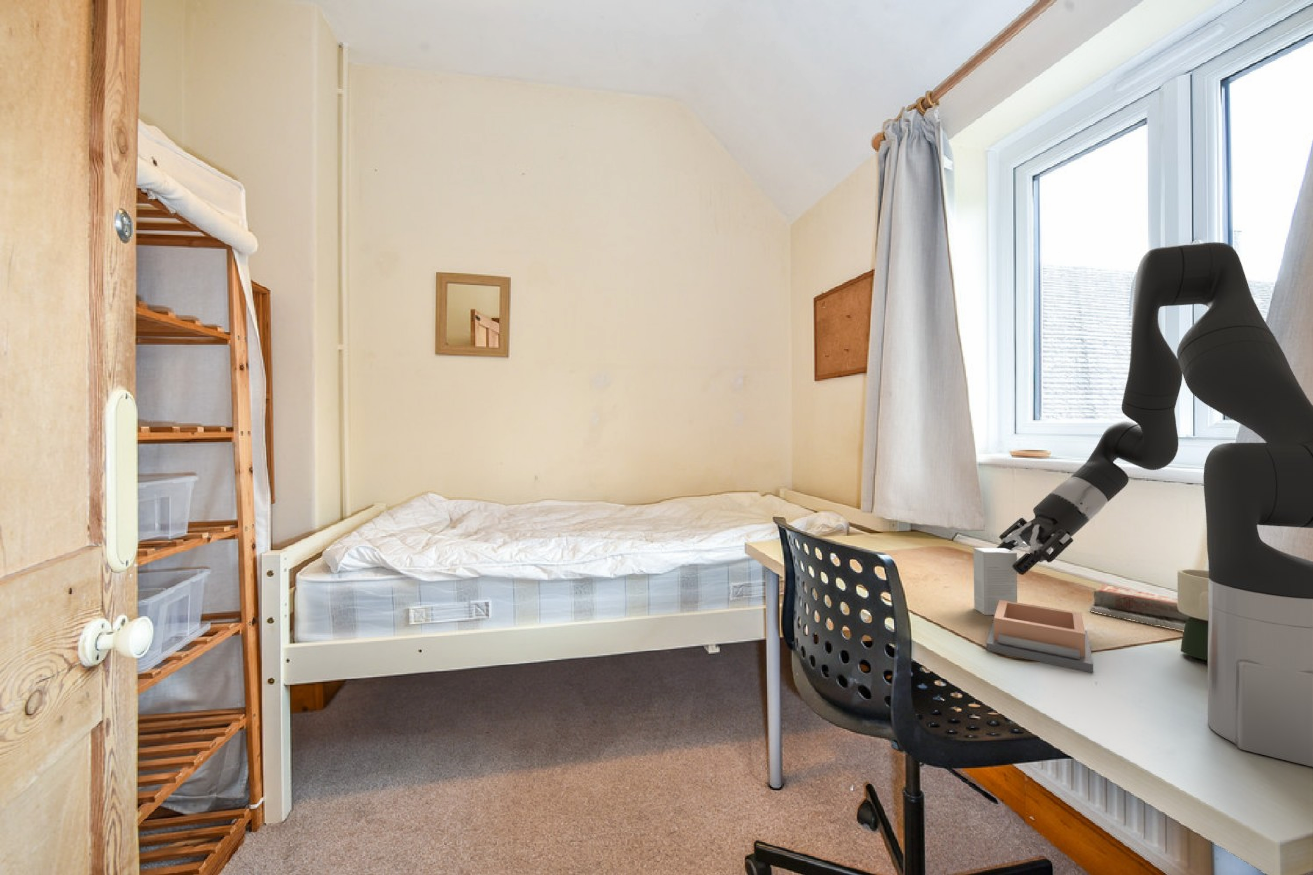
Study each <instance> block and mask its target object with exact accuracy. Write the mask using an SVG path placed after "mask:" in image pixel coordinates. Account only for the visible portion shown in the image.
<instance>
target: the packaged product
mask: <svg viewBox="0 0 1313 875" xmlns="http://www.w3.org/2000/svg"><path fill="white" fill-rule="evenodd" d="M1093 599H1094V600H1093V604H1092V605H1090V608H1089V612H1090V611H1094V612H1098V613H1102V614H1106V615H1111V616H1115V617H1119V618H1118V619H1120V618H1126V619H1131V620H1135V621H1138V622H1143V623H1148V624H1152V625H1160V626H1165V627H1170V628H1175V629H1180V630H1184V627H1185V622H1186V621H1187V620H1188V618H1189V617H1191V616H1188V615H1186V614H1183V613H1181V612H1179V610H1178V606H1177V598H1174V597H1169V596H1164V595H1159V594H1153V593H1148V592H1144V591H1143V592H1142V591H1138V590H1133V589H1126V588H1122V587H1116V586H1111V585H1110V586H1109V585H1105V584H1104V585H1102V586H1101V587H1098V588H1096V589H1095V590H1094V591H1093ZM1106 615H1105V616H1106ZM1111 616H1110V617H1111ZM1115 617H1114V618H1115ZM1138 622H1137V623H1138ZM1143 623H1142V624H1143ZM1152 625H1151V626H1152Z"/></svg>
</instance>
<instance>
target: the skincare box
mask: <svg viewBox="0 0 1313 875" xmlns="http://www.w3.org/2000/svg"><path fill="white" fill-rule="evenodd" d="M972 553H973V600H974V601H973V605H974V606H973V607H974V610H976V611H978V612H979V613H981V614H983V615H985V616H995V613H996V610H997V606H998V603H999V600H1004V601H1010V602H1017V603H1018V573H1017V572H1016V571H1015V570H1014V569H1013V567H1012V565H1013V564H1014V563H1015V562H1016V561H1018V559H1017V558H1018V553H1017V552H1015V551H1014V550H1012V551H1011V550H1008V549H1005V548H997V547H973V551H972Z"/></svg>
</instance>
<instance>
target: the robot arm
mask: <svg viewBox="0 0 1313 875" xmlns="http://www.w3.org/2000/svg"><path fill="white" fill-rule="evenodd" d="M1138 264H1139V265H1138V266H1137V269H1136V270H1137V271H1136V274H1135V277H1134V278H1135V279H1134V284H1133V285H1134V286H1133V295H1132V296H1133V299H1132V315H1131V330H1130V331H1131V332H1130V356H1129V357H1130V358H1129V368H1128V375H1127V379H1126V383H1125V388H1124V393H1123V397H1122V403H1121V411H1122V413H1123V414H1124V415H1125V416H1126V417H1127V418H1128V419H1130V420H1131V421H1129V420H1123V421H1119V422H1116V423H1113V424H1112V425H1110V426H1109V427H1108V428H1107V429H1106V430H1105V431H1104V432H1103V434H1102V435H1101V437H1100V439H1099V442H1098V443H1097V445H1096V447H1095V448H1094V449H1093V451H1092V453H1091V454H1090V456H1089V457H1088V459H1087V460H1086V462H1085V463H1083V465H1082V466H1081V467H1079V469H1077V470H1076V471H1075V472H1074V473H1073V474H1072V475H1071V476H1069V478H1067V479H1066V480H1065V481H1063V482H1061V483H1060V484H1058V485H1057V486H1056V487H1055V488H1054V489H1053V490H1051V492H1049V494H1048V495H1046V496H1045V497H1044V498H1042V500H1041V501H1040V502H1039V503H1037V504H1036V505H1035V506H1034V507H1033V509H1032V512H1033V514H1034V518H1033V519H1032V520H1030V521H1027V520H1026V519H1025V518H1024V517H1020V518H1019V519H1017V520H1016V521H1015V522H1014V523H1013V524H1011V525H1010V526H1009V527H1008V528H1007V529H1006V530H1005V531H1004V532H1002V533H1001V534H999V536H998V538H999V539H1000V540H1001V543H1000V544H999V545H998V546H997V547H996V548H1005V549H1008V550H1011V551H1015V550H1018V549H1019V548H1023V549H1025V548H1027V547H1029V550H1028V552H1025V553H1024V554H1023V555H1022V556H1021V557H1020V558H1019V559H1017V561H1016V562H1015V563H1014V564H1013V565H1012V567H1013V569H1014V570H1015V571H1016V572H1017V574H1018V575H1021V576H1024V575H1025V574H1026V573H1027V572H1028V571H1029V570H1031V569H1032V568H1033V567H1034V566H1035V565H1036V564H1038V563H1043V562H1044V561H1046V562H1047V563H1052V562H1053V561H1054V560H1055V559H1056V558H1057V557H1058V556H1060V555H1061V553H1063V551H1065V549H1067V548H1068V547H1069V546H1070V545H1071V544H1072V543H1073V542H1074V539H1073V538H1072V537H1073V536H1074V535H1075V534H1076V533H1077V532H1079V531H1080V530H1081V529H1082V528H1083V527H1084V526H1085V525H1087V524H1088V523H1089V522H1090V521H1091V520H1092V519H1093V518H1095V517H1096V516H1097V514H1099V513H1100V512H1101V511H1102V509H1103V508H1104V507H1105V506H1106V504H1108V503H1109V501H1111V500H1112V499H1113V498H1114V497H1115V496H1116V495H1118V494H1119V493H1120V492H1121V491H1122V490H1123V489H1124V488H1125V487H1126V486H1127V485H1128V483H1129V481H1130V480H1129V476H1128V474H1127V472H1126V471H1125V470H1123V468H1121V467H1120V466H1119V465H1117V463H1114V462H1115V461H1116V460H1117V459H1120V460H1122V461H1125V462H1127V463H1129V464H1132V465H1134V466H1137V467H1139V468H1142V469H1145V470H1148V471H1157V470H1161V469H1164V468H1166V467H1167V466H1168V465H1170V464H1171V463H1172V462H1173V461H1174V460H1175V459H1176V458H1175V457H1176V456H1177V454H1178V450H1179V435H1178V428H1177V419H1176V418H1177V417H1176V412H1175V410H1176V406H1177V402H1178V398H1179V394H1180V390H1181V387H1182V382H1183V379H1184V382H1185V384H1186V386H1187V388H1188V389H1189V391H1190V392H1191V393H1192V395H1194V396H1195V397H1196V398H1197V399H1198V400H1199V401H1201V402H1202V403H1203V404H1205V405H1206V406H1208V407H1210V408H1212V409H1213V410H1214V411H1216V412H1218V413H1220V414H1222V415H1224V416H1225V417H1227V418H1229V419H1231V420H1233V421H1235V422H1237V423H1238V424H1240V425H1242V426H1244V427H1246V428H1247V429H1249V430H1250V431H1252V432H1254V433H1255V434H1256V435H1258V436H1259V437H1260V438H1261V439H1263V441H1264V442H1227V443H1226V442H1225V443H1220V444H1217V445H1216V446H1214V447H1212V449H1211V450H1210V451H1209V452H1208V455H1207V457H1206V460H1205V463H1204V465H1203V466H1204V467H1203V493H1204V495H1203V496H1204V507H1205V520H1206V522H1205V523H1206V549H1207V550H1206V551H1207V562H1208V571H1209V603H1208V663H1207V725H1208V726H1209V727H1210V728H1209V729H1211V730H1212V731H1213V732H1214V733H1216V734H1218V736H1220V737H1221V738H1222V737H1223V739H1224V738H1225V739H1226V740H1227V741H1230V742H1231V743H1233V744H1235V746H1236V748H1238V749H1239V750H1243V751H1246V752H1251V753H1255V754H1258V755H1262V756H1263V755H1264V756H1268V757H1272V758H1275V759H1279V760H1284V761H1287V762H1292V763H1296V764H1301V765H1304V766H1308V767H1312V768H1313V561H1311V560H1308V559H1306V558H1303V557H1299V556H1296V555H1292V554H1289V553H1286V552H1284V551H1281V550H1279V549H1277V548H1275V547H1273V546H1271V545H1269V544H1267V543H1266V542H1265V541H1263V540H1262V538H1260V534H1259V529H1258V526H1269V527H1270V526H1271V527H1287V528H1302V529H1303V528H1304V529H1313V404H1312V403H1311V401H1310V399H1309V398H1308V396H1307V395H1306V394H1305V391H1304V390H1303V387H1302V386H1301V385H1300V383H1299V381H1298V379H1297V377H1296V376H1295V374H1294V372H1293V370H1292V368H1291V366H1290V363H1289V361H1288V359H1287V357H1286V355H1285V352H1284V351H1283V349H1282V347H1281V346H1280V344H1279V342H1278V341H1277V339H1276V336H1275V335H1274V333H1273V332H1272V330H1271V328H1270V327H1269V326H1268V324H1267V323H1266V321H1265V319H1264V317H1263V316H1262V314H1261V312H1260V310H1259V308H1258V306H1257V304H1256V301H1255V300H1254V297H1253V295H1252V293H1251V290H1250V286H1249V283H1248V280H1247V277H1246V274H1245V271H1244V267H1243V264H1242V262H1241V259H1240V257H1239V254H1238V253H1237V251H1236V249H1234V246H1233V247H1232V246H1231V245H1230V244H1228V243H1225V242H1217V241H1216V242H1215V241H1214V242H1212V241H1211V242H1201V243H1191V244H1190V243H1189V244H1179V245H1171V246H1161V247H1157V248H1152V249H1150V250H1148V251H1147V252H1146V253H1145V254H1144V255H1143V256H1142V258H1141V260H1140V262H1139V263H1138ZM1188 305H1189V306H1190V305H1192V306H1193V305H1203V306H1206V307H1207V308H1208V309H1207V311H1205V313H1203V315H1202V316H1201V317H1200V318H1199V319H1197V321H1195V323H1194V324H1192V326H1191V327H1190V328H1189V329H1188V330H1187V332H1185V334H1184V335H1183V337H1182V339H1180V340H1181V341H1180V342H1179V343H1178V346H1177V351H1176V354H1175V353H1174V351H1173V350H1172V348H1171V346H1170V345H1169V344H1168V342H1167V341H1166V339H1165V337H1164V335H1163V333H1162V330H1161V328H1160V324H1159V313H1160V308H1162V307H1171V306H1172V307H1175V306H1188Z"/></svg>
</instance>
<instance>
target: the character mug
mask: <svg viewBox="0 0 1313 875" xmlns="http://www.w3.org/2000/svg"><path fill="white" fill-rule="evenodd" d="M1176 587H1177V593H1176V594H1177V597H1176V599H1177V606H1178V610H1179V612H1181V613H1183V614H1186V615H1188V616H1191V617H1189V618H1188V620H1187V621H1186V622H1185V627H1184V632H1182V637H1181V645H1180V652H1181V653H1183V654H1184V655H1188V656H1191V657H1193V658H1197V659H1201V660H1204V661H1205V662H1206V663H1207V664H1208V603H1209V570H1207V569H1206V570H1205V569H1194V568H1193V569H1192V568H1183V569H1182V568H1181V569H1178V570H1177V586H1176Z"/></svg>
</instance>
